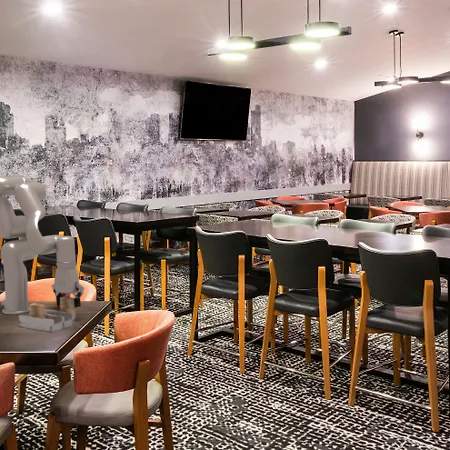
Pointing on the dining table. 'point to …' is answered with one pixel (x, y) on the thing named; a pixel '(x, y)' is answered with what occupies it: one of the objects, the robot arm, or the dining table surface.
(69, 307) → the beech board
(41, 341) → the dining table surface
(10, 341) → the dining table surface
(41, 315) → the oak board
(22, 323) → the rack
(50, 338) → the dining table surface
